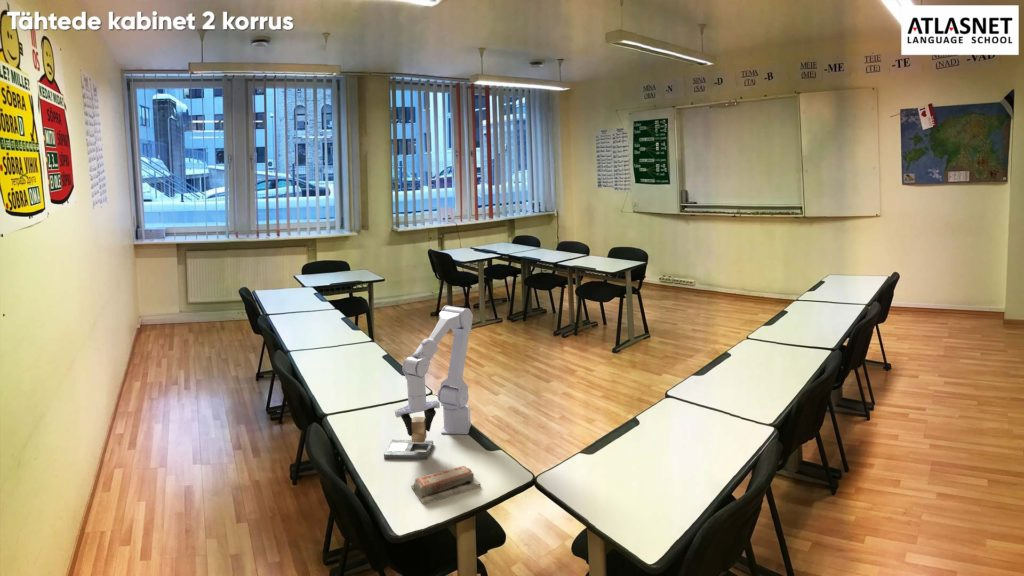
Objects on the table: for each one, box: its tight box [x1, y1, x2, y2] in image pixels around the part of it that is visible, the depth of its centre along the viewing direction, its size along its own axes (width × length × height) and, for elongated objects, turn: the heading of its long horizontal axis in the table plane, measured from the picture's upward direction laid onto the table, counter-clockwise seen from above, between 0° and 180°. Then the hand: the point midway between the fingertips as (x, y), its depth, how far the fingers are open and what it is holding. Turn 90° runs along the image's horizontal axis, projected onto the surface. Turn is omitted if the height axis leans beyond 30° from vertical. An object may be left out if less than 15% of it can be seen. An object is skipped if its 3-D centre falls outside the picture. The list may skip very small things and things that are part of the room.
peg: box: [410, 416, 427, 442], centre depth 193 cm, size 4×4×7 cm
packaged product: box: [410, 465, 482, 505], centre depth 173 cm, size 18×5×10 cm
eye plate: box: [383, 439, 434, 461], centre depth 195 cm, size 14×10×2 cm
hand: (418, 432), depth 194 cm, fingers closed on peg, 5 cm apart
